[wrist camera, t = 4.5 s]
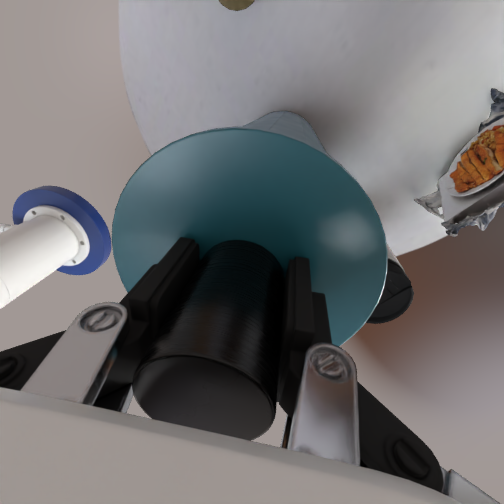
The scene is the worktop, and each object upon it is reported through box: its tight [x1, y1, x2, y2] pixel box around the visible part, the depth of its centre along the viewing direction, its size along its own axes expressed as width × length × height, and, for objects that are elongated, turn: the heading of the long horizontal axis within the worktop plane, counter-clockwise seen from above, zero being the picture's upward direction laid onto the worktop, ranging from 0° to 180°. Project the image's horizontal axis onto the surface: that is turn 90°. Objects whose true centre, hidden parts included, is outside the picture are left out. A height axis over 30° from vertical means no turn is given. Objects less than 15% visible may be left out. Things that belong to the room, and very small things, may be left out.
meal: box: [414, 88, 504, 237], centre depth 30 cm, size 15×4×13 cm, turn 157°
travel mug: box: [366, 243, 414, 324], centre depth 34 cm, size 6×7×20 cm
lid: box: [112, 127, 388, 441], centre depth 9 cm, size 11×11×7 cm
